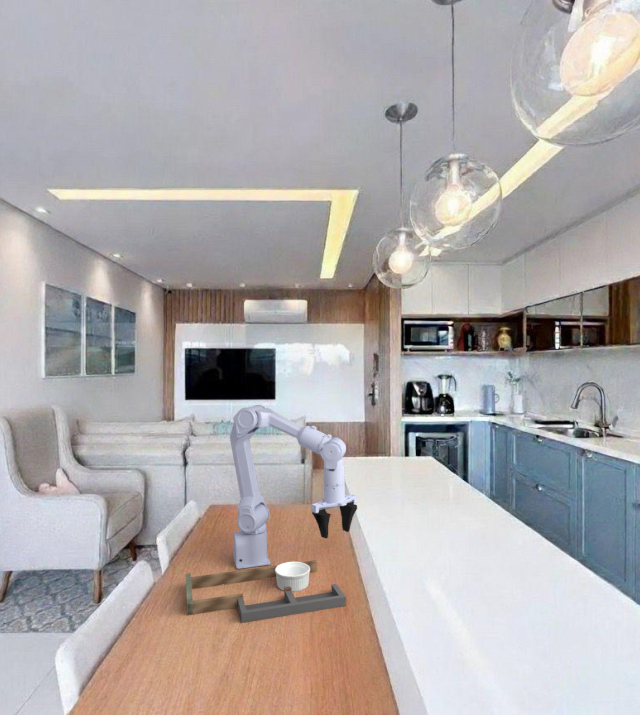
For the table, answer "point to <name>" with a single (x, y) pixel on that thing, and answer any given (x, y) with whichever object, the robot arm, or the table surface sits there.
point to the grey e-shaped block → (291, 605)
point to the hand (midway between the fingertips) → (335, 534)
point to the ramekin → (292, 575)
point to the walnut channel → (227, 578)
